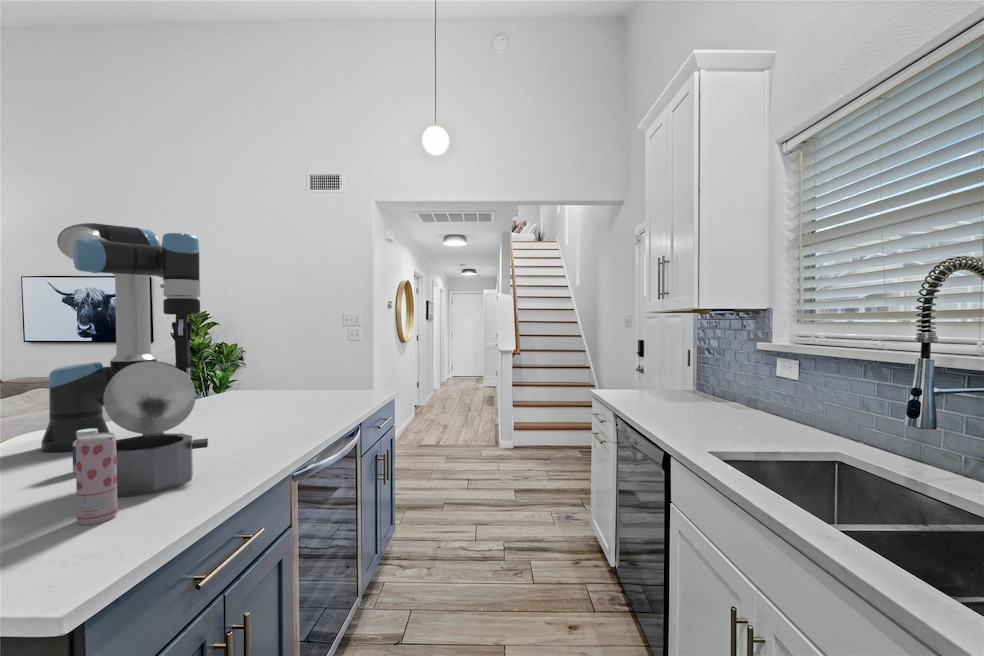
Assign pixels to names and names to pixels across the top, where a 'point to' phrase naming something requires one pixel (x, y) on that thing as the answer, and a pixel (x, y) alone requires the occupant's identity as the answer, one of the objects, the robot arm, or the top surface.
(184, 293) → the robot arm
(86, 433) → the pill bottle
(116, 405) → the lid
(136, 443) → the pot
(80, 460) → the beverage can
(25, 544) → the top surface
